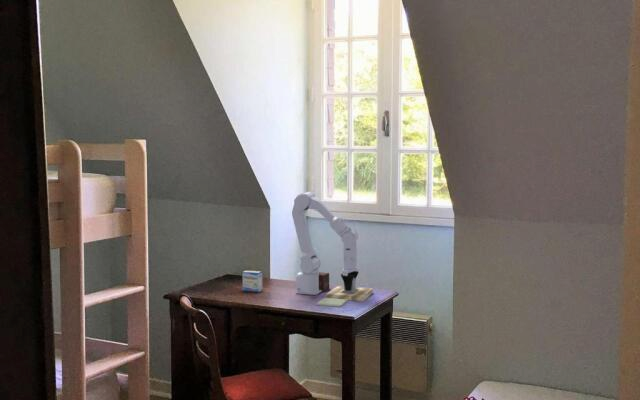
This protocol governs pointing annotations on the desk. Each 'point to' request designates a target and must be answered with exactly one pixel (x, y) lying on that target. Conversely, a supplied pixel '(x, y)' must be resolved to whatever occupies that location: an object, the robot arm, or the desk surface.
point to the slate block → (353, 288)
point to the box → (323, 281)
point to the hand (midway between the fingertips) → (349, 289)
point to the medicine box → (252, 281)
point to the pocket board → (357, 296)
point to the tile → (332, 302)
